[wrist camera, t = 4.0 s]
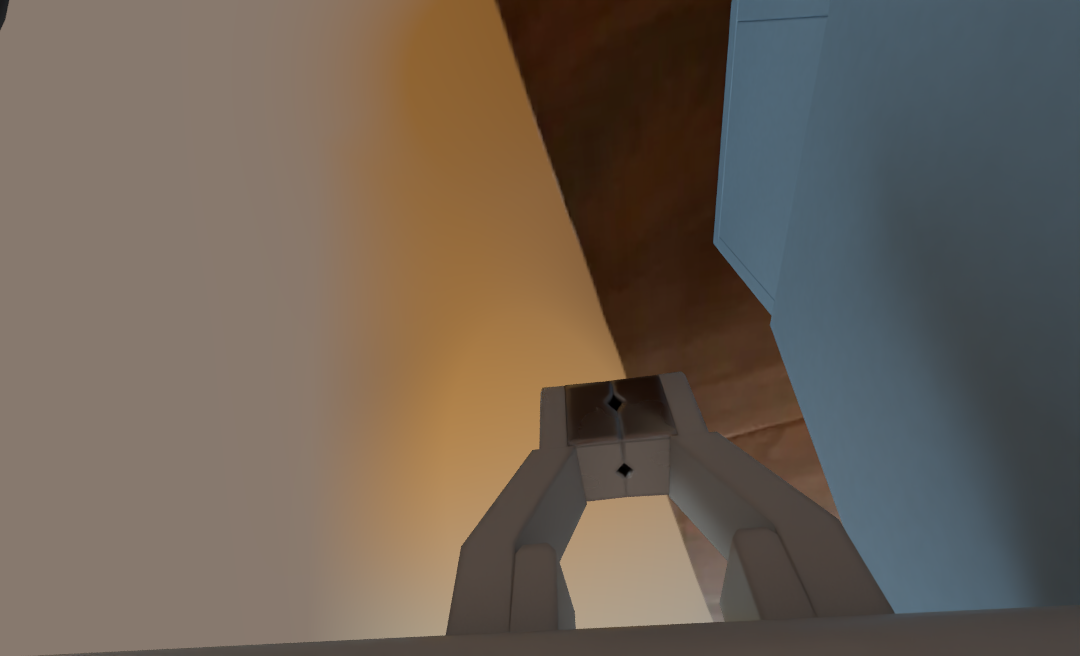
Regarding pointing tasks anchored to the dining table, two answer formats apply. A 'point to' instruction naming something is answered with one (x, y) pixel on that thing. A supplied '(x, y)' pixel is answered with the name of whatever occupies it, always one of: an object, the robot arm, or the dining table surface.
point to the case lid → (944, 296)
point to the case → (765, 132)
